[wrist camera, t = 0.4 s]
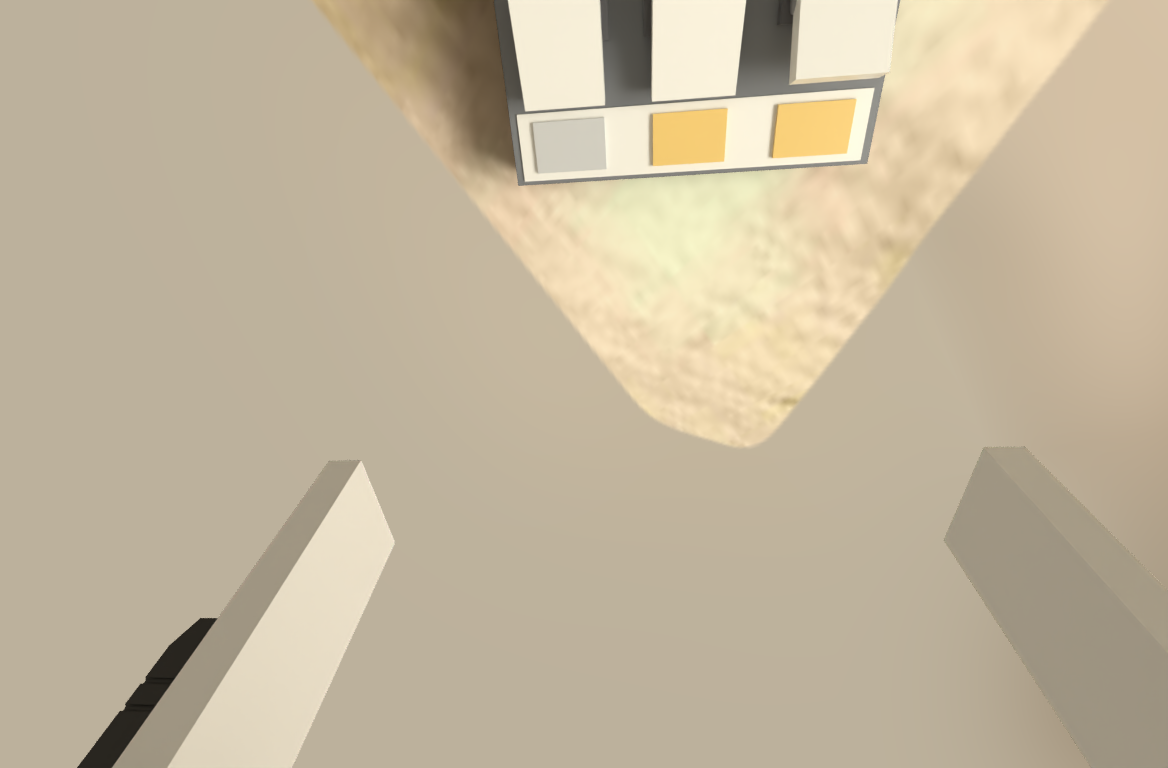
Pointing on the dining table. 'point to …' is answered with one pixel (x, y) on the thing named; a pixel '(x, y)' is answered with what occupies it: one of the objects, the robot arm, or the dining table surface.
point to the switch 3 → (841, 39)
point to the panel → (689, 110)
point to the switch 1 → (559, 52)
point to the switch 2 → (695, 48)
